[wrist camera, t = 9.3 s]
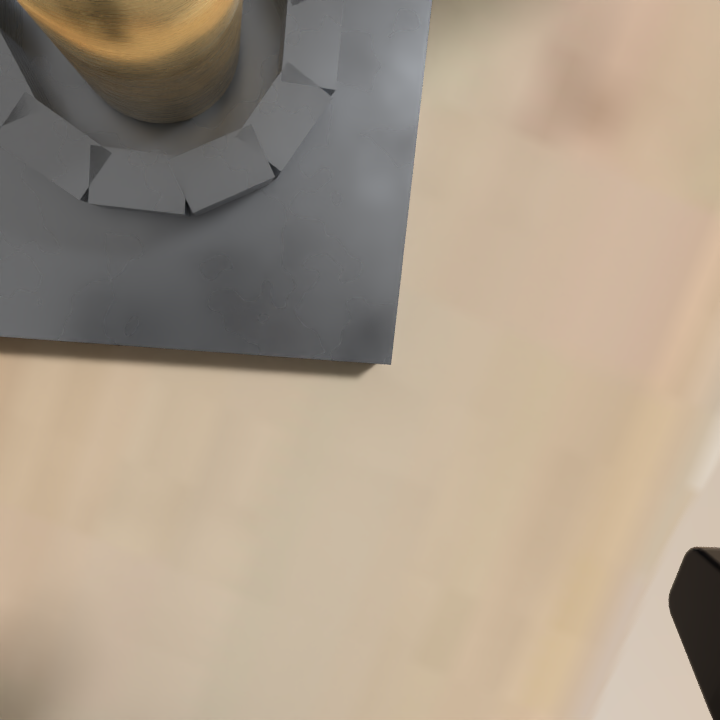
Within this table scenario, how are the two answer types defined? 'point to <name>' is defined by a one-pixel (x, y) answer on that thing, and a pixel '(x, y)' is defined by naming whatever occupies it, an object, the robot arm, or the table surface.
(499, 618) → the table surface
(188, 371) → the table surface
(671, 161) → the table surface
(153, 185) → the jig
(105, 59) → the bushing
